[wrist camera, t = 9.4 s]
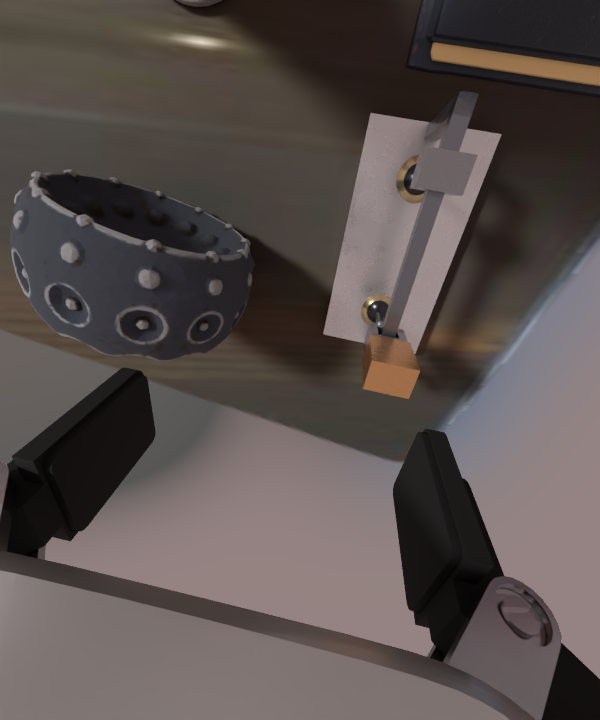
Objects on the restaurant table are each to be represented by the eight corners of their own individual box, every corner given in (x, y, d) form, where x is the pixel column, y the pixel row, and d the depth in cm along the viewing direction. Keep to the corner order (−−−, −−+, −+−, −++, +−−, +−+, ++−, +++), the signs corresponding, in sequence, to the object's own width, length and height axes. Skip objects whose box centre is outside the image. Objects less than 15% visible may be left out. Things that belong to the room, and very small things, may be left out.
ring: (127, 170, 36) (-91, 145, 18) (283, 242, 37) (215, 283, 19) (119, 257, 41) (-56, 301, 24) (255, 318, 42) (183, 405, 25)
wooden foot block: (366, 300, 36) (371, 360, 23) (397, 307, 36) (420, 370, 22) (361, 321, 37) (362, 388, 24) (390, 327, 37) (408, 399, 24)
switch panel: (370, 116, 30) (376, 71, 19) (495, 136, 29) (576, 101, 18) (324, 329, 41) (312, 377, 30) (413, 349, 40) (433, 404, 29)
